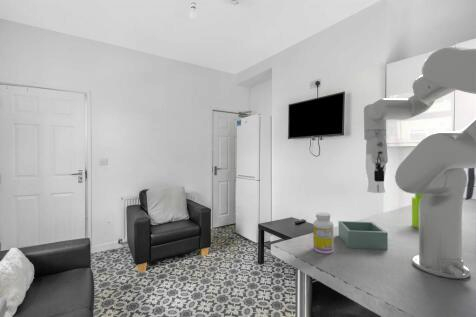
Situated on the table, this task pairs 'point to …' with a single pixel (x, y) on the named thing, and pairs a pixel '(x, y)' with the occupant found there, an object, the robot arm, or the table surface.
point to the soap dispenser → (416, 209)
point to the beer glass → (372, 184)
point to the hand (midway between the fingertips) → (375, 180)
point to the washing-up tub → (363, 235)
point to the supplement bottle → (323, 234)
